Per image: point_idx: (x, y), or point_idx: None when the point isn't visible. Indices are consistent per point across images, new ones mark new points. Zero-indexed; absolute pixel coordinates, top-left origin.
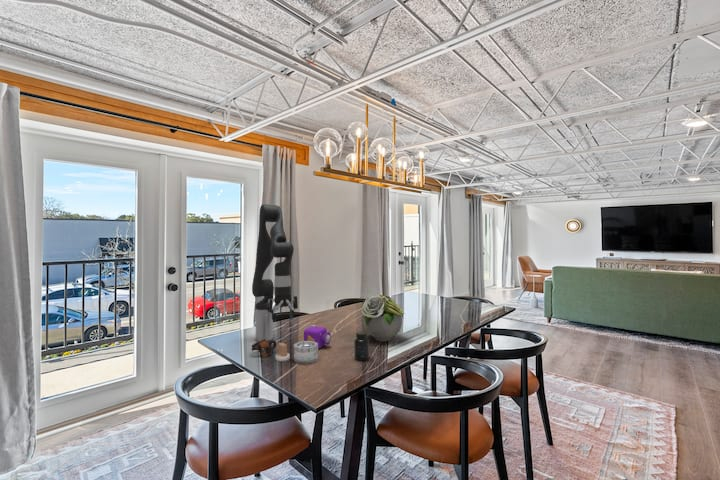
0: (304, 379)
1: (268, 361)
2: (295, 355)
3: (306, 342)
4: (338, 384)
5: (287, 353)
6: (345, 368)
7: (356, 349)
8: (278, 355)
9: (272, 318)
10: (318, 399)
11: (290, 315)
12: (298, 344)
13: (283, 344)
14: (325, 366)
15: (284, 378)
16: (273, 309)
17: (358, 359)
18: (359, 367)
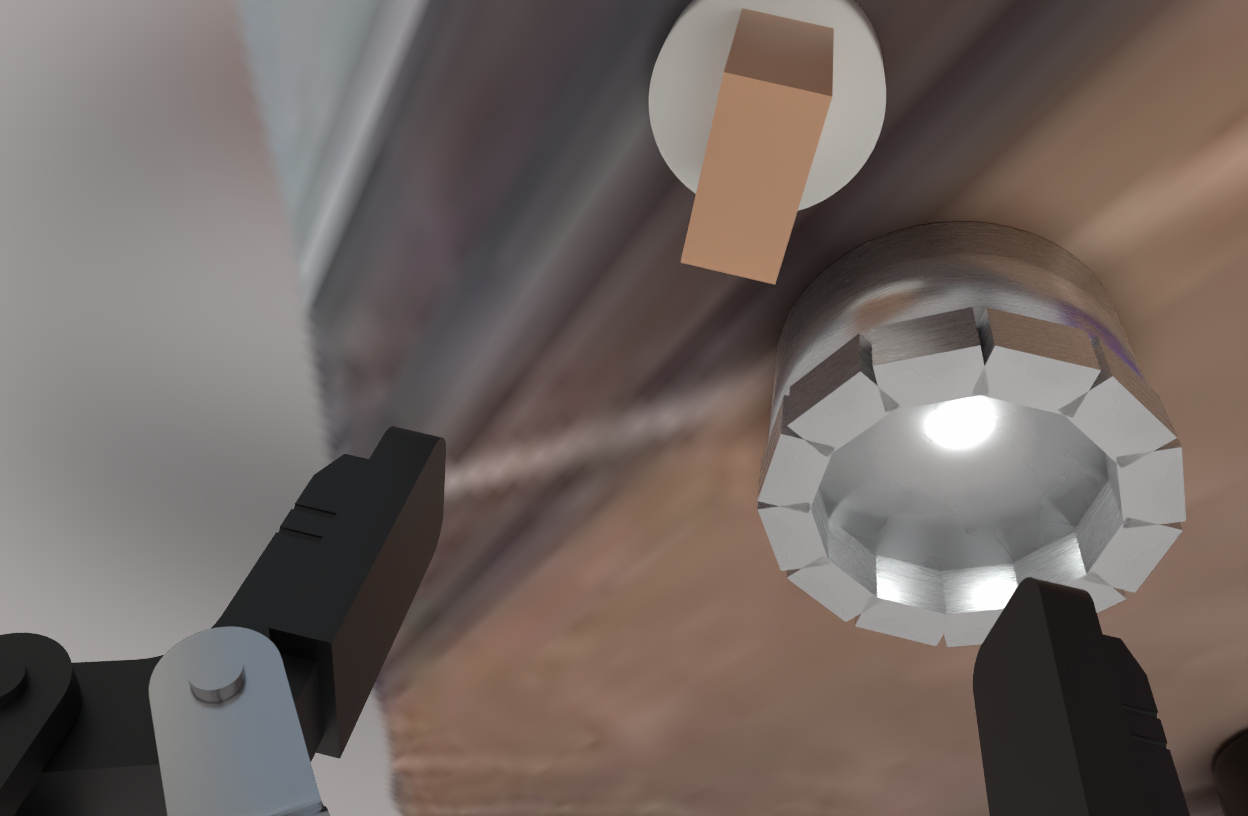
0: (559, 639)
1: (549, 6)
2: (773, 396)
3: (1092, 435)
4: (677, 813)
5: (866, 113)
6: (959, 751)
7: None
8: (705, 71)
9: (323, 514)
10: (456, 810)
11: (1022, 685)
12: (932, 393)
13: (759, 204)
14: None
15: (442, 522)
16: (217, 792)
17: (1215, 775)
18: None
